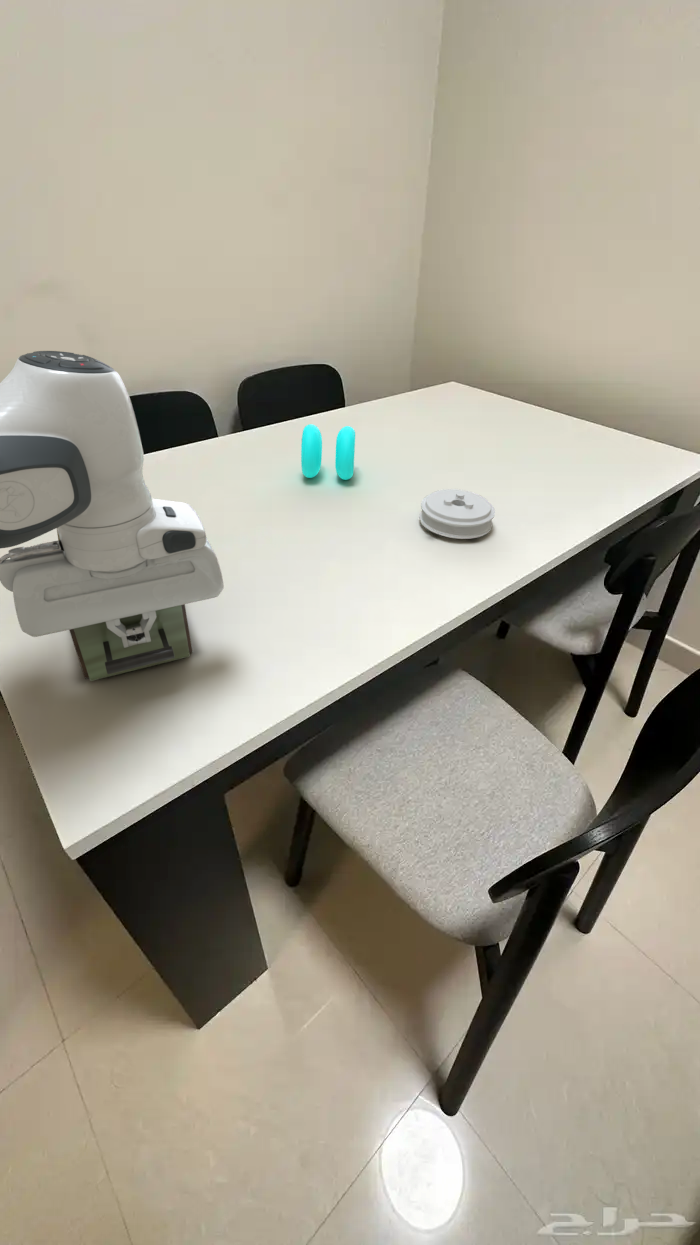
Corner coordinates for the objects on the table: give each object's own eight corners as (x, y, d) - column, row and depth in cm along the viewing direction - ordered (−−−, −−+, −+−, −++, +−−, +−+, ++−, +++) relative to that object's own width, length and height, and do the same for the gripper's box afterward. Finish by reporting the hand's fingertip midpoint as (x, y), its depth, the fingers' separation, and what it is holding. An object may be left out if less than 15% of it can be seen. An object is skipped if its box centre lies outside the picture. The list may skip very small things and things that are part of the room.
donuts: (352, 488, 111) (355, 437, 105) (300, 486, 111) (300, 434, 105) (353, 467, 119) (356, 419, 113) (305, 465, 119) (304, 416, 113)
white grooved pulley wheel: (471, 505, 108) (476, 480, 105) (504, 539, 99) (510, 513, 96) (408, 512, 105) (411, 486, 102) (435, 547, 96) (439, 520, 92)
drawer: (199, 682, 67) (191, 630, 62) (95, 710, 63) (77, 656, 58) (167, 596, 80) (158, 547, 75) (79, 614, 76) (63, 564, 71)
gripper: (-12, 570, 50) (35, 685, 59) (221, 529, 57) (232, 636, 66) (-11, 536, 55) (33, 647, 63) (205, 501, 62) (218, 605, 70)
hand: (136, 641), depth 65 cm, fingers closed
